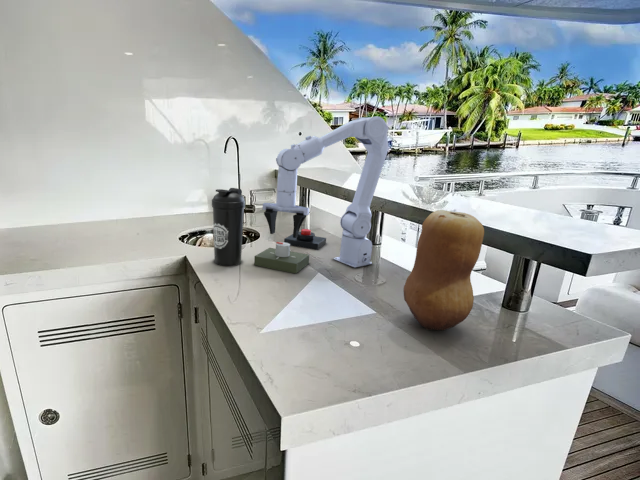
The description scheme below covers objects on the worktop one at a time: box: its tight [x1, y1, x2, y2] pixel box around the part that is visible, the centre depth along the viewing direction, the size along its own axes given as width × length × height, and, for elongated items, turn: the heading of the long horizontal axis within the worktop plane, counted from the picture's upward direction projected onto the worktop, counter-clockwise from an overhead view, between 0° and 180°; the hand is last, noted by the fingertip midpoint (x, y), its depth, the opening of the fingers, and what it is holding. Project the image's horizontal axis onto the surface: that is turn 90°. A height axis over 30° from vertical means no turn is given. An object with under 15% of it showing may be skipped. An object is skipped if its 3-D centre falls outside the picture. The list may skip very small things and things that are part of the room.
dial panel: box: [253, 247, 310, 274], centre depth 119 cm, size 14×11×3 cm
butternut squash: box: [403, 209, 485, 331], centre depth 79 cm, size 14×13×25 cm
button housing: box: [283, 231, 327, 250], centre depth 142 cm, size 13×10×4 cm
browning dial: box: [275, 241, 291, 257], centre depth 118 cm, size 4×4×4 cm
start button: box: [300, 228, 312, 235], centre depth 141 cm, size 4×4×2 cm
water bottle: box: [211, 187, 246, 267], centre depth 117 cm, size 10×10×23 cm
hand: (283, 235), depth 117 cm, fingers open, 7 cm apart
